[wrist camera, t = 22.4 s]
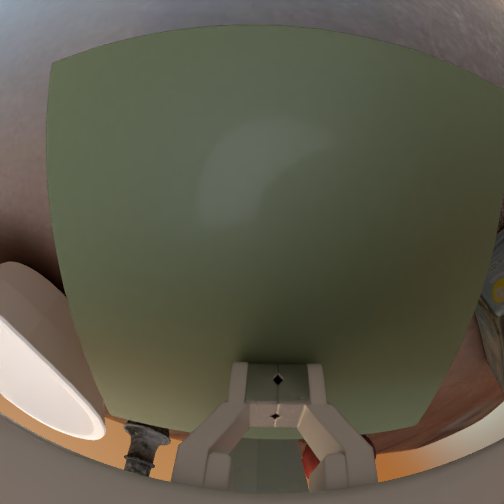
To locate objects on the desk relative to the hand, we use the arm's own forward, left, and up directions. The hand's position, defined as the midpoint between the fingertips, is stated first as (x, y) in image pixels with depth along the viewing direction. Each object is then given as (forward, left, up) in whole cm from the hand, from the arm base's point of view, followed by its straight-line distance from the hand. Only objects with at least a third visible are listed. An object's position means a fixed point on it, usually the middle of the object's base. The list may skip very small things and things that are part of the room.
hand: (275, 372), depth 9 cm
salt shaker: (+24, -13, -9) cm, 29 cm away
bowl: (+9, -22, -9) cm, 26 cm away
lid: (-3, 0, -2) cm, 3 cm away
